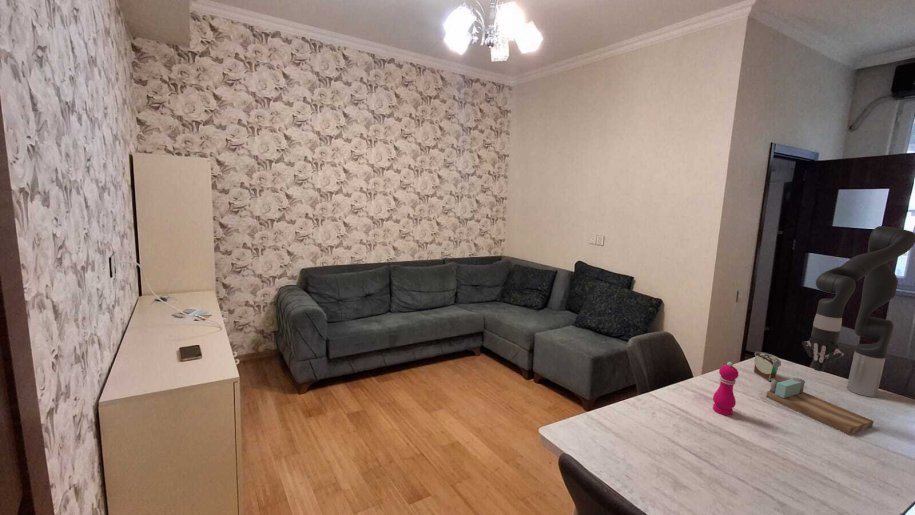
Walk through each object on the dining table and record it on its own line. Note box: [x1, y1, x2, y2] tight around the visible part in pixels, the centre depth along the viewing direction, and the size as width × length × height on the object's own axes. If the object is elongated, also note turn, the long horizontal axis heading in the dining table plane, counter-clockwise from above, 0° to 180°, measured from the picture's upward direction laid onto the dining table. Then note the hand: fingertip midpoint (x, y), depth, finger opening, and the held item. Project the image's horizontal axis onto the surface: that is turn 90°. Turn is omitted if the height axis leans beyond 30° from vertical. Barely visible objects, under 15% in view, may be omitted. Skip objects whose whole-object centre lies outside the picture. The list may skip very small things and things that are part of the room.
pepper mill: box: [712, 361, 739, 417], centre depth 150 cm, size 7×7×20 cm
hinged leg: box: [775, 377, 806, 398], centre depth 162 cm, size 14×4×5 cm, turn 114°
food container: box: [753, 351, 782, 383], centre depth 182 cm, size 12×6×10 cm, turn 179°
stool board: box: [765, 379, 875, 436], centre depth 154 cm, size 15×27×8 cm, turn 21°
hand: (818, 370), depth 151 cm, fingers closed
